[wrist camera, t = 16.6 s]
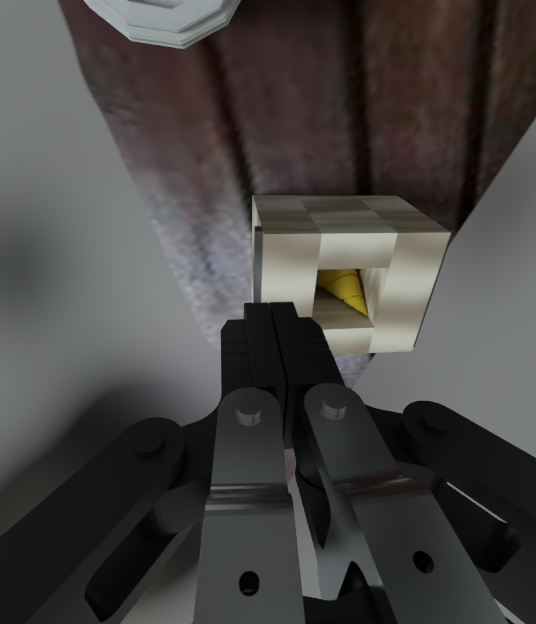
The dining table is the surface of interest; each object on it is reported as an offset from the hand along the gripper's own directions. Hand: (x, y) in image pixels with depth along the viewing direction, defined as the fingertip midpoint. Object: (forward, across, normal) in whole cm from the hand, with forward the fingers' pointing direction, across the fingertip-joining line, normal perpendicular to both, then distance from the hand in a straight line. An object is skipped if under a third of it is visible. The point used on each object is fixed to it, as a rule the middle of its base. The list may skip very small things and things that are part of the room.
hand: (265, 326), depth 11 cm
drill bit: (+28, -12, +12) cm, 32 cm away
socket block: (+29, -10, +10) cm, 32 cm away
